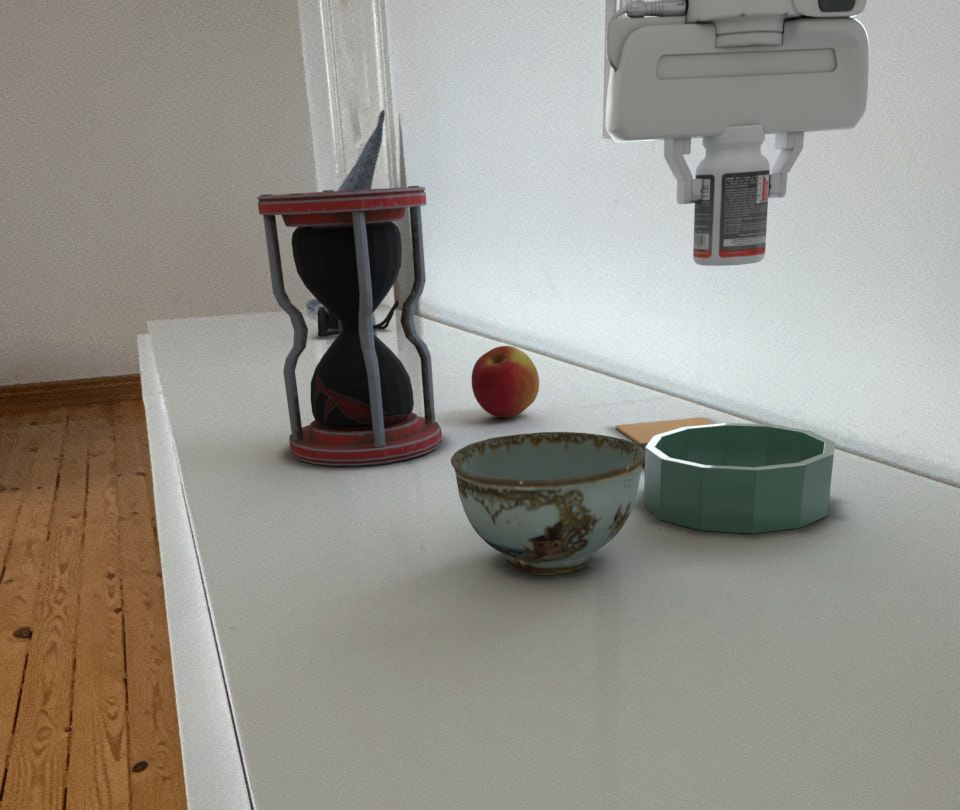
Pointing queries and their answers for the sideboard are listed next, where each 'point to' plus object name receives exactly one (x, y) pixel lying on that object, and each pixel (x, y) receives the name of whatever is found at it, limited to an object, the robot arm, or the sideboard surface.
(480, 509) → the bowl
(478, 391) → the apple
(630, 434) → the cork coaster
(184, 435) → the sideboard surface
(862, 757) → the sideboard surface
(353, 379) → the hourglass
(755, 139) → the pill bottle
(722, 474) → the green bowl
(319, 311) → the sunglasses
